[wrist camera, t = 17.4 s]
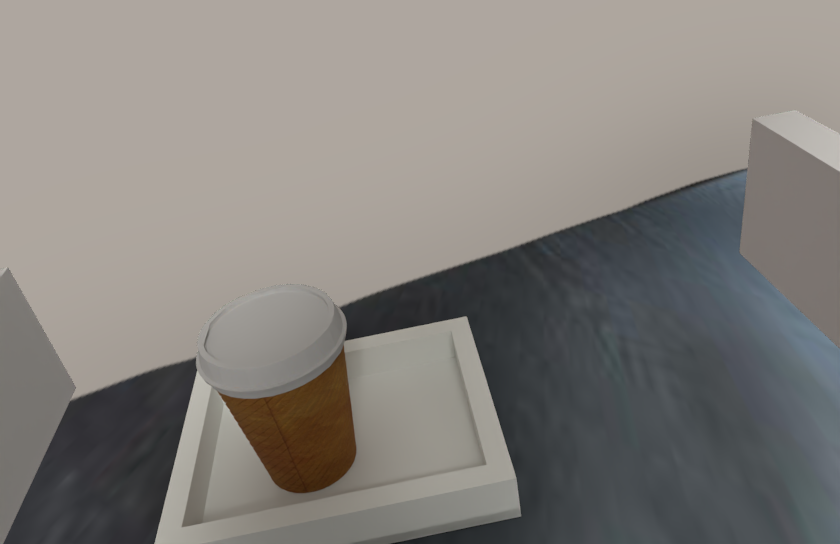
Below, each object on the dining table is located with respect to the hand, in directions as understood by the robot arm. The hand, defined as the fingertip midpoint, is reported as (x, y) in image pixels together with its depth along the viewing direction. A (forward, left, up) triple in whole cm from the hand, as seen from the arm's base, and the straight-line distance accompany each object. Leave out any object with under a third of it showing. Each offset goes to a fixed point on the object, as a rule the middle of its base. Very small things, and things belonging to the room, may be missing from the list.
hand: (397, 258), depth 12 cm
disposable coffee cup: (+9, -25, -29) cm, 40 cm away
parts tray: (+7, -26, -30) cm, 40 cm away
